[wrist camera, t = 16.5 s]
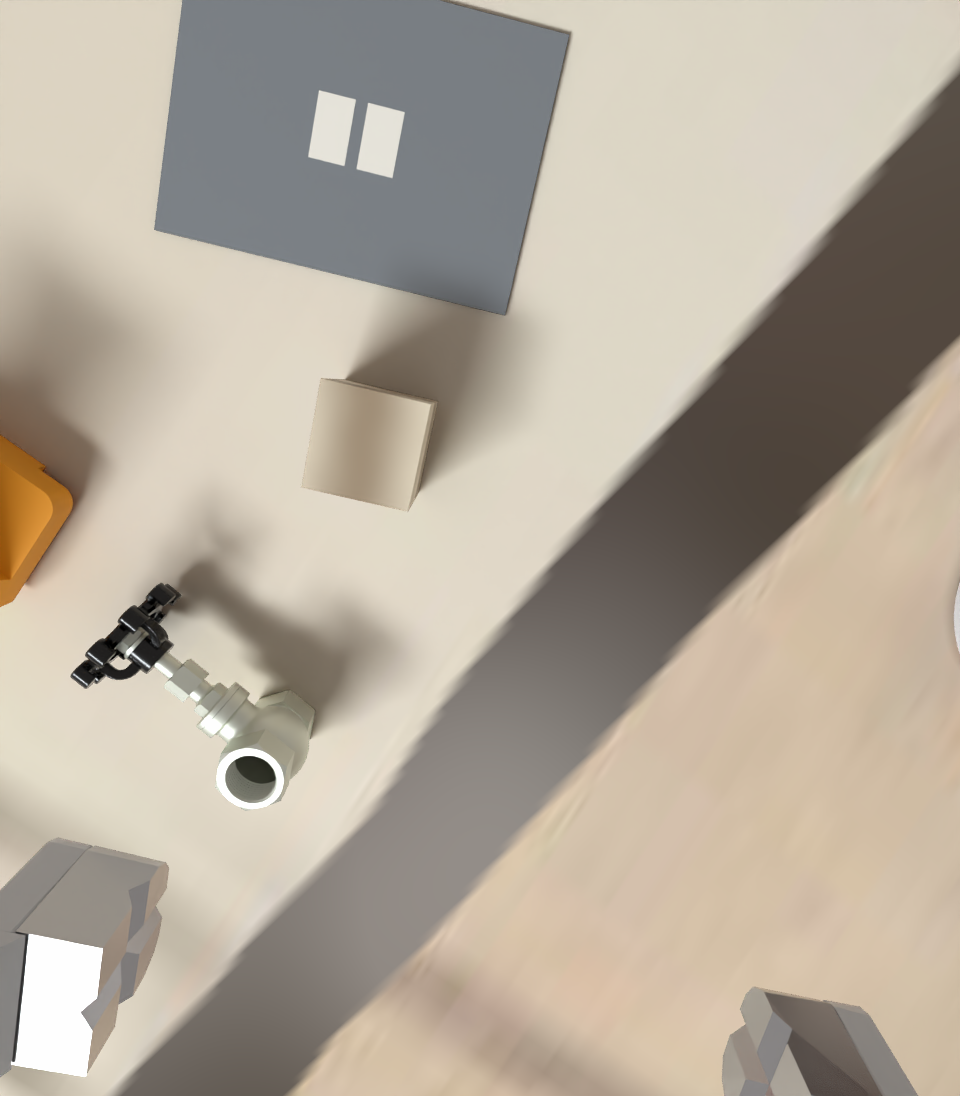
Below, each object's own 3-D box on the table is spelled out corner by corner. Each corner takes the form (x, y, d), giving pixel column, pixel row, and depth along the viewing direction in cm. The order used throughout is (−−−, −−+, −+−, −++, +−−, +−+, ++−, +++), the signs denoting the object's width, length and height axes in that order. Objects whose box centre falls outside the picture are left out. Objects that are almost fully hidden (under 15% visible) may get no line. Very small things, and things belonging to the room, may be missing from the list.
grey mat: (568, 36, 34) (569, 34, 34) (504, 315, 37) (505, 314, 37) (192, -64, 33) (190, -67, 33) (156, 230, 36) (154, 229, 36)
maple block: (438, 401, 38) (430, 404, 32) (418, 492, 39) (407, 511, 33) (345, 379, 38) (320, 378, 32) (327, 472, 39) (301, 487, 33)
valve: (349, 702, 42) (185, 566, 40) (325, 760, 35) (129, 601, 34) (277, 777, 43) (114, 648, 41) (241, 847, 36) (46, 697, 35)
